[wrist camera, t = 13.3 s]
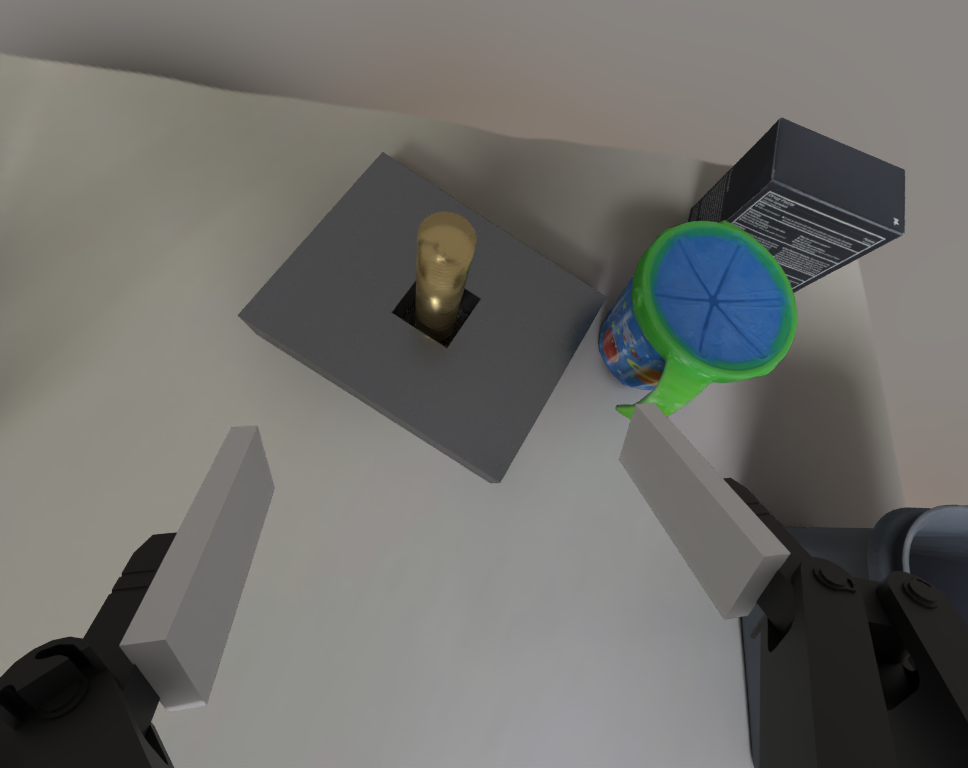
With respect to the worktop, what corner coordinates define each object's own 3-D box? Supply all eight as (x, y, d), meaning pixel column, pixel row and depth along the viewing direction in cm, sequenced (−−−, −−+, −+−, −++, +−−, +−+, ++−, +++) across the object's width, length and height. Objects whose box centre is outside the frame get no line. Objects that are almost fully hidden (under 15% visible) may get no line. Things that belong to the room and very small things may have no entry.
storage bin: (891, 811, 30) (1287, 1079, 17) (693, 829, 28) (965, 1157, 14) (842, 502, 36) (1115, 511, 22) (672, 494, 33) (856, 500, 19)
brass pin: (407, 328, 33) (405, 242, 21) (428, 299, 34) (438, 201, 22) (440, 349, 33) (456, 275, 21) (461, 319, 34) (487, 232, 22)
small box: (789, 244, 41) (911, 165, 31) (781, 303, 39) (909, 239, 29) (690, 204, 40) (783, 110, 30) (678, 262, 38) (773, 182, 28)
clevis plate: (256, 334, 31) (237, 315, 27) (385, 183, 35) (382, 151, 32) (490, 483, 31) (500, 482, 28) (588, 315, 36) (606, 297, 32)
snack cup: (628, 246, 38) (703, 162, 28) (725, 314, 38) (834, 254, 28) (538, 385, 33) (591, 343, 24) (648, 461, 33) (746, 451, 24)
